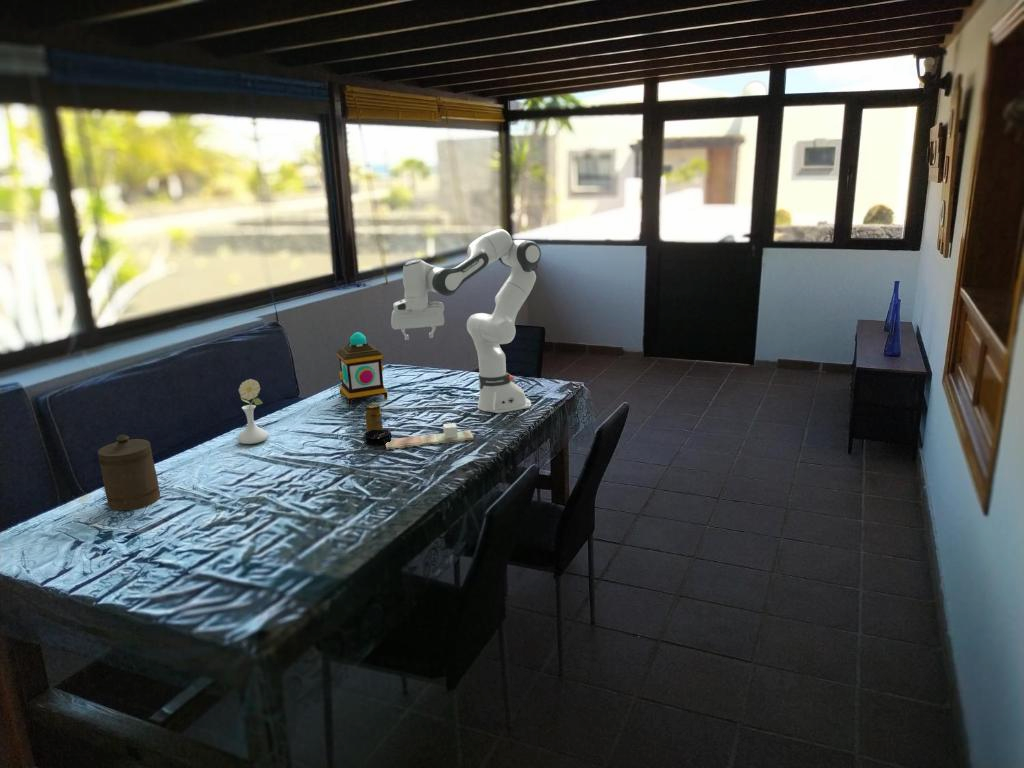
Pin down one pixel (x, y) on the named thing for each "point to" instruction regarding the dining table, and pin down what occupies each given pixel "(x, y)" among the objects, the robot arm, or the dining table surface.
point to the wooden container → (129, 474)
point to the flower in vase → (251, 414)
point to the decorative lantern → (360, 369)
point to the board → (427, 440)
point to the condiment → (373, 417)
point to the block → (450, 430)
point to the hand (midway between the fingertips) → (419, 338)
